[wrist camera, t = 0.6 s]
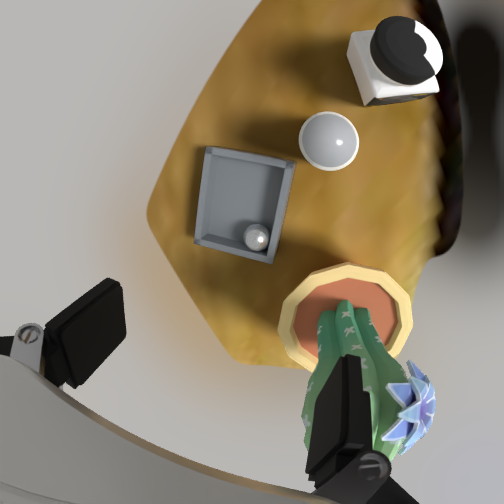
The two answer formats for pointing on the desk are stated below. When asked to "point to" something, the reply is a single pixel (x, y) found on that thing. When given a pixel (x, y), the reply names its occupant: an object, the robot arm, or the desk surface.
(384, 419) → the potted cactus
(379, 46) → the medicine bottle
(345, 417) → the robot arm
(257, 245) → the steel ball
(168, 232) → the desk surface
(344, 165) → the shaker
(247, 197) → the tray
